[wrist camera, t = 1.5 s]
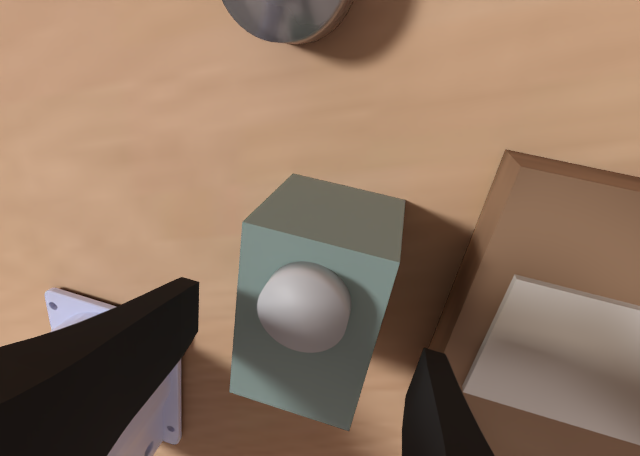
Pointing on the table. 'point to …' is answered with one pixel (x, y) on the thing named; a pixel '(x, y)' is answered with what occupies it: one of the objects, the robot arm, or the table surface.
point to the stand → (550, 312)
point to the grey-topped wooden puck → (288, 18)
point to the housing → (313, 296)
